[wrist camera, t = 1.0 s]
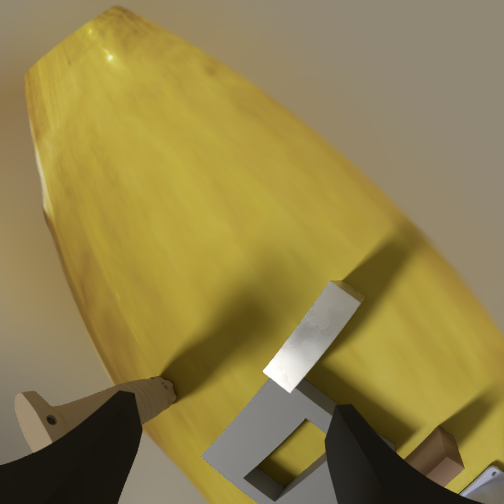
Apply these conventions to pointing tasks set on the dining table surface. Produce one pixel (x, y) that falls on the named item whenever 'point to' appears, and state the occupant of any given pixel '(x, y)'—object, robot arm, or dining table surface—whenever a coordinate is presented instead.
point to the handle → (85, 409)
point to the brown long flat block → (437, 457)
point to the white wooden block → (314, 334)
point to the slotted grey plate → (275, 445)
